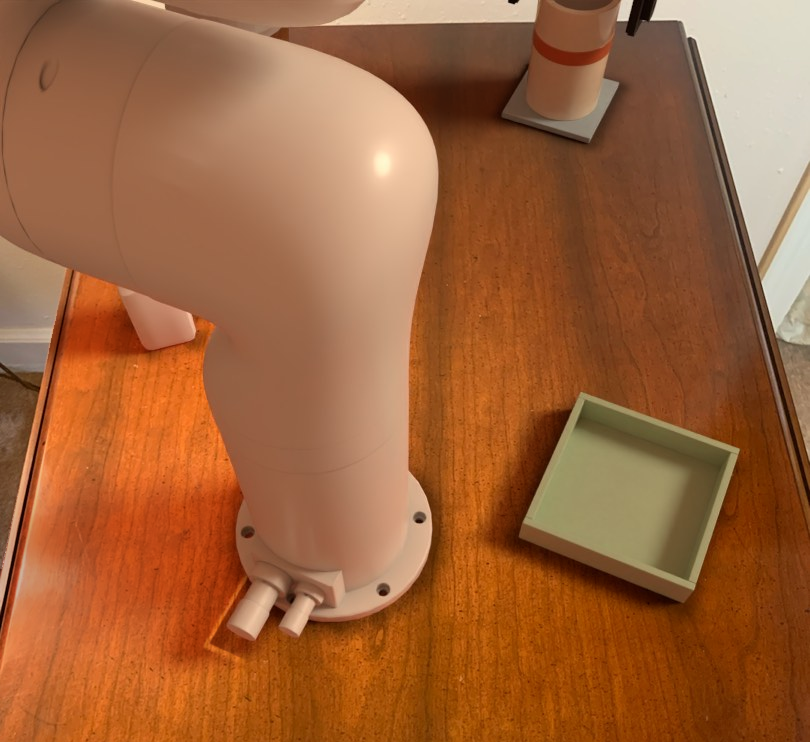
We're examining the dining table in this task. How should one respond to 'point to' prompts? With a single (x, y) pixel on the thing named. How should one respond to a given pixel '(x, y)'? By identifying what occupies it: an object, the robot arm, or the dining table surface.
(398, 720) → the dining table surface
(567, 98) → the tumbler
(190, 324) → the pepper shaker
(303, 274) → the robot arm
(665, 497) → the tray
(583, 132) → the mat
